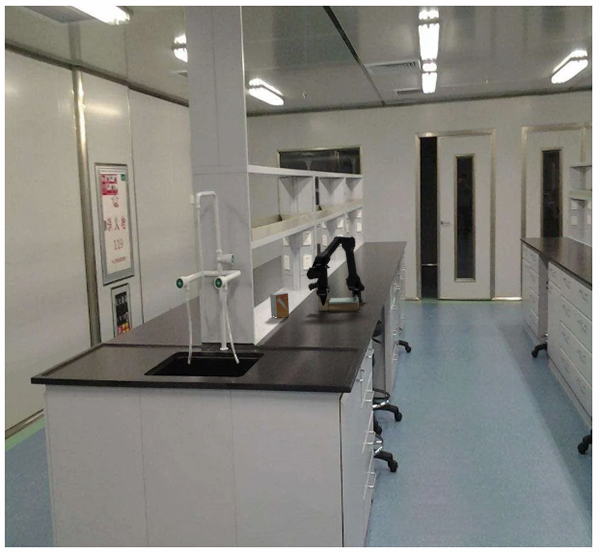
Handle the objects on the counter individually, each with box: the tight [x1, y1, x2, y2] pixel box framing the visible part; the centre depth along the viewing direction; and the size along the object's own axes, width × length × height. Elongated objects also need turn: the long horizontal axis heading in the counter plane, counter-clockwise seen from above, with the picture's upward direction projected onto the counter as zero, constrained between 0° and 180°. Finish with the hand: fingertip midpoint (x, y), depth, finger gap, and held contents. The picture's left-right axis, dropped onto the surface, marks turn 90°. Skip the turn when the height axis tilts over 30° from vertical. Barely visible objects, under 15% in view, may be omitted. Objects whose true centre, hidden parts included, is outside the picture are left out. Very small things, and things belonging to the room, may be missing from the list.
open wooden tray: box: [328, 300, 360, 312], centre depth 336 cm, size 12×16×4 cm
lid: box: [329, 295, 359, 304], centre depth 335 cm, size 12×16×3 cm
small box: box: [269, 291, 290, 319], centre depth 325 cm, size 8×6×13 cm
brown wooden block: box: [318, 293, 330, 311], centre depth 337 cm, size 4×5×9 cm
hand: (324, 304), depth 337 cm, fingers open, 9 cm apart
